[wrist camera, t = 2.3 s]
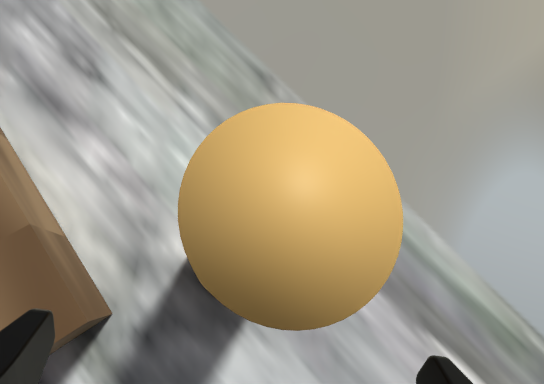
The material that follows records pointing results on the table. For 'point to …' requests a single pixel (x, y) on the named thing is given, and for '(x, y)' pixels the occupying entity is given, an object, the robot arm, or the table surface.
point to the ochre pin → (290, 216)
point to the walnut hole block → (40, 259)
